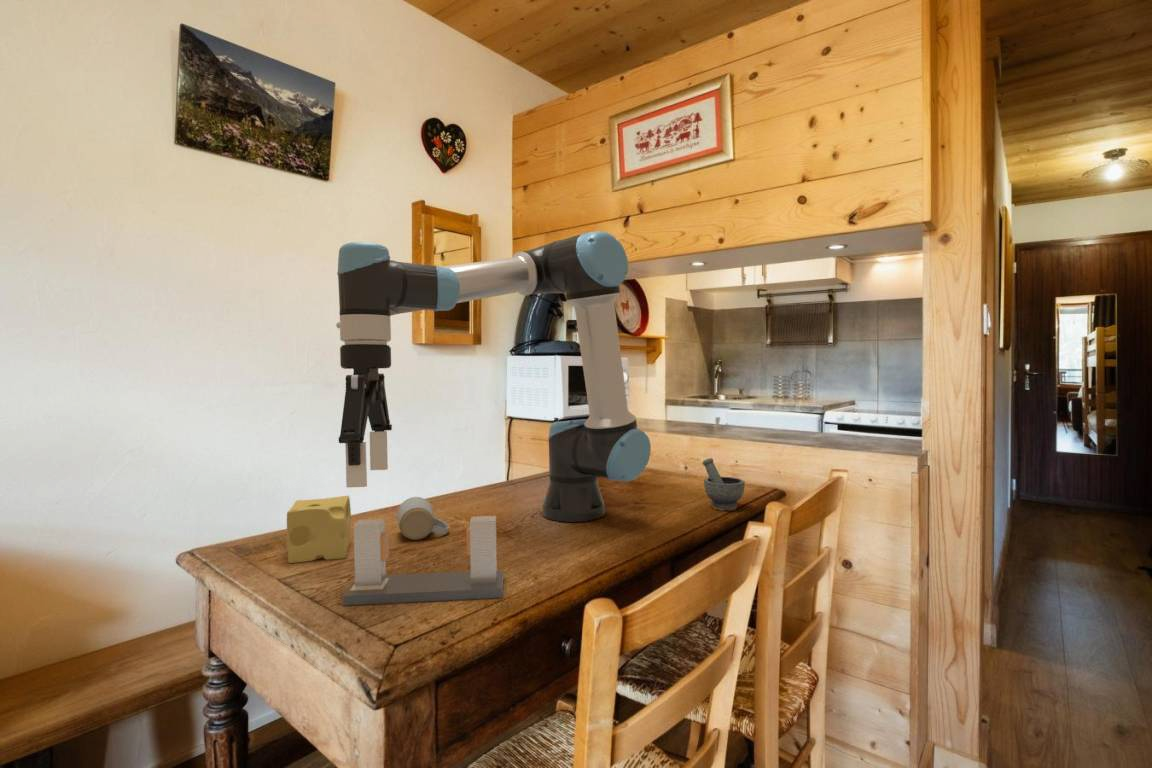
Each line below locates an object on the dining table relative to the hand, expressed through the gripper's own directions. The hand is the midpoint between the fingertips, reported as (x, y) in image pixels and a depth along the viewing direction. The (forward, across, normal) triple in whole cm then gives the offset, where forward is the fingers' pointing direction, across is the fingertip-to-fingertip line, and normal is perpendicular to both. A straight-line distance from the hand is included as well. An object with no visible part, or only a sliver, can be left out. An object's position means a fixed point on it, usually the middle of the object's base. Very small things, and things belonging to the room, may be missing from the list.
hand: (368, 477), depth 90 cm
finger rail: (+19, 0, +9) cm, 21 cm away
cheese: (+19, -22, -15) cm, 33 cm away
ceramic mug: (+19, -31, +3) cm, 37 cm away
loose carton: (+17, 0, 0) cm, 17 cm away
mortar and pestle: (+19, -46, +75) cm, 90 cm away
